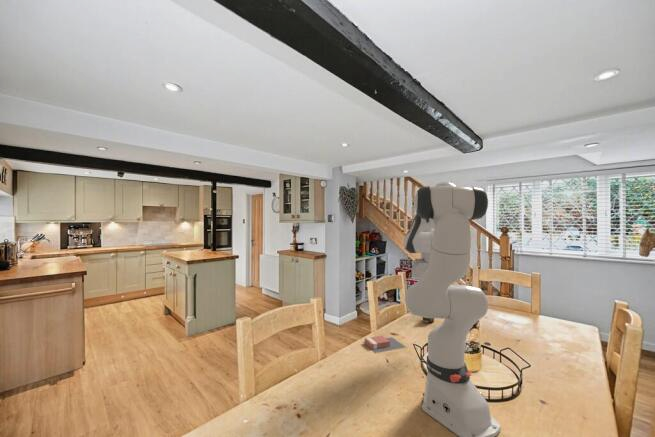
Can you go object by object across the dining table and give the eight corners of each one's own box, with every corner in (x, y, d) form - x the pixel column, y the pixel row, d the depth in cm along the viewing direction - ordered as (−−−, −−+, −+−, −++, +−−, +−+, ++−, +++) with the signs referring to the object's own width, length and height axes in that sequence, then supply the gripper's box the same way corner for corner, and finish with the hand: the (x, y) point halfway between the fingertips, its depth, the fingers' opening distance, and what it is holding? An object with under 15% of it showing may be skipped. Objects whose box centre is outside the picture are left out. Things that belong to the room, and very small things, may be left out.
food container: (432, 326, 155) (432, 308, 155) (422, 323, 158) (421, 306, 159) (438, 320, 164) (438, 303, 165) (428, 318, 168) (428, 302, 168)
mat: (406, 347, 127) (406, 347, 127) (375, 353, 121) (375, 352, 121) (392, 338, 138) (392, 337, 138) (363, 342, 132) (363, 342, 132)
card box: (389, 341, 128) (371, 344, 124) (389, 346, 128) (371, 349, 124) (382, 335, 134) (364, 338, 131) (382, 340, 134) (364, 343, 131)
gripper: (417, 259, 123) (417, 289, 122) (451, 257, 130) (451, 286, 129) (408, 258, 129) (409, 286, 128) (441, 256, 136) (442, 283, 135)
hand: (430, 286), depth 129 cm, fingers closed
